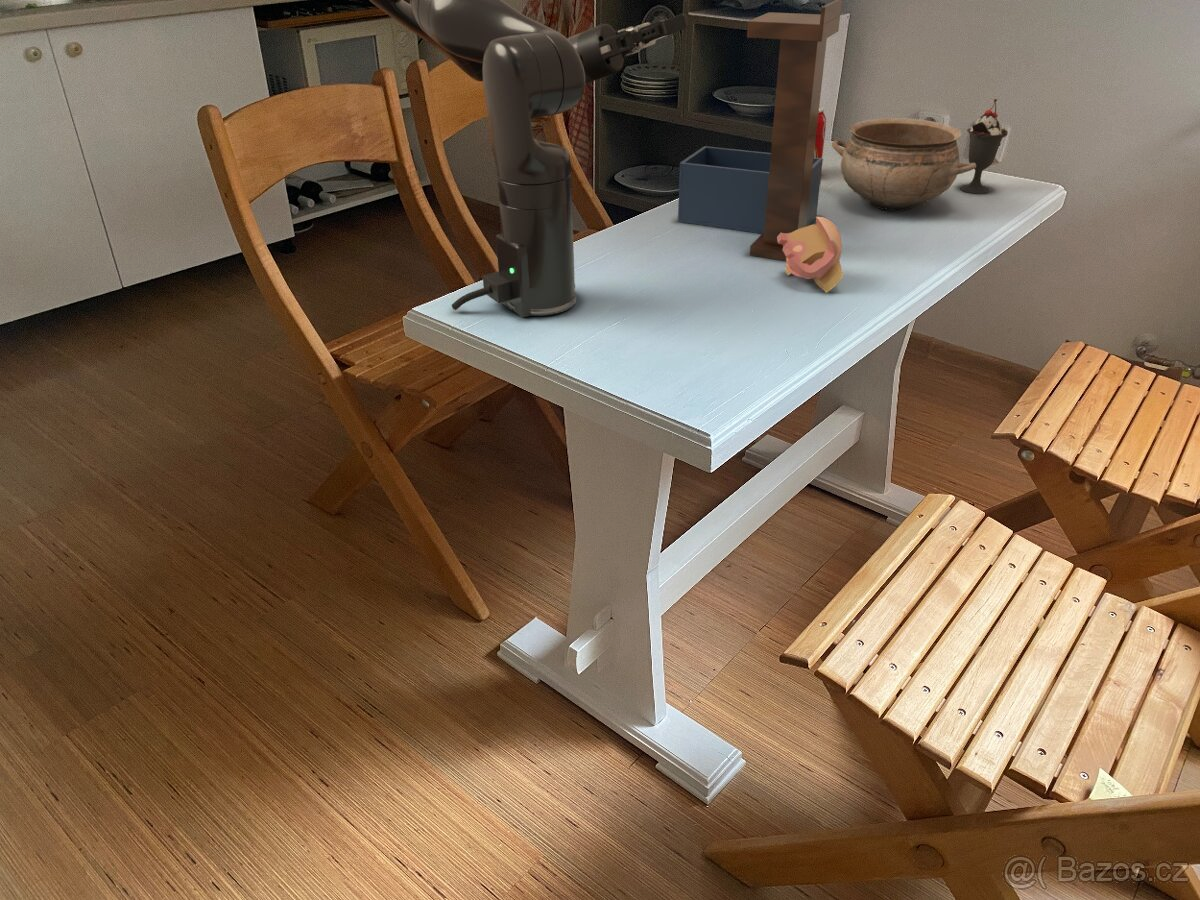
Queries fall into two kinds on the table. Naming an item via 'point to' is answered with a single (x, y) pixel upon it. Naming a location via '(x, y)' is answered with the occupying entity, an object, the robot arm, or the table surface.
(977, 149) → the sundae
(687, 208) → the blue open box
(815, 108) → the dark wooden post
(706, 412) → the table surface
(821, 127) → the soda can
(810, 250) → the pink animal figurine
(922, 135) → the cooking pot
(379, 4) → the robot arm
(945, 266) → the table surface
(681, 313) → the table surface
